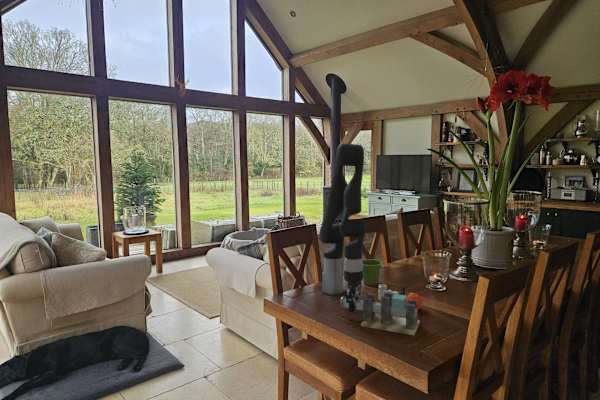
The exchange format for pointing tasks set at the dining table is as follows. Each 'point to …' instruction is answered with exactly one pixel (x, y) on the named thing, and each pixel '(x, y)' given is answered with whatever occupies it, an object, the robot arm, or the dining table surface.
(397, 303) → the spacer
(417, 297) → the clementine
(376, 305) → the shaft
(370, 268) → the plant pot
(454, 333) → the dining table surface
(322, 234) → the robot arm
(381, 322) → the frame
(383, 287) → the valve
